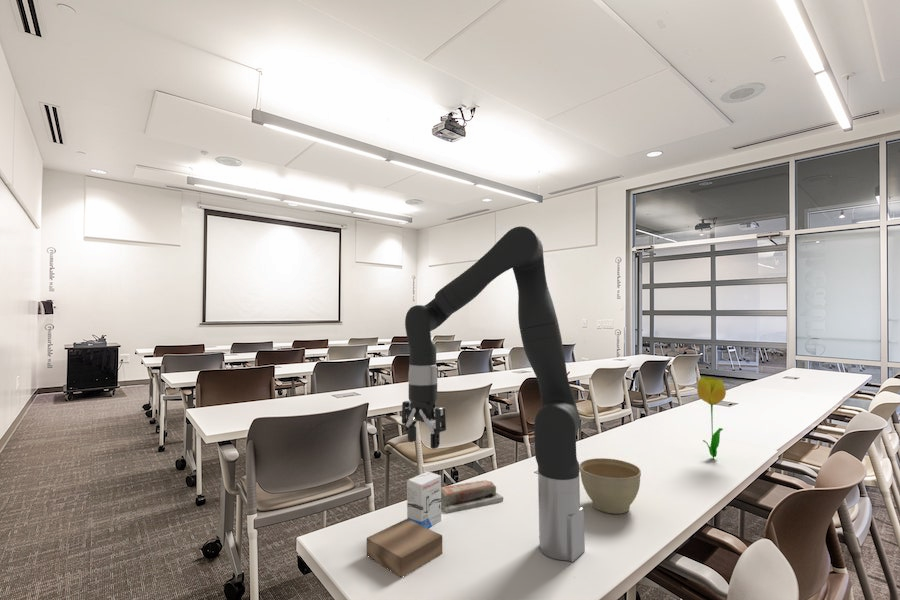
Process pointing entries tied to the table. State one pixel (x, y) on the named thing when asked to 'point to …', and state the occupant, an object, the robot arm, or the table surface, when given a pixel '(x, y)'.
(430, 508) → the ink box
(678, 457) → the table surface
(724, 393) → the flower
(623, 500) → the planter bowl
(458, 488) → the packaged product
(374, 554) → the walnut base
